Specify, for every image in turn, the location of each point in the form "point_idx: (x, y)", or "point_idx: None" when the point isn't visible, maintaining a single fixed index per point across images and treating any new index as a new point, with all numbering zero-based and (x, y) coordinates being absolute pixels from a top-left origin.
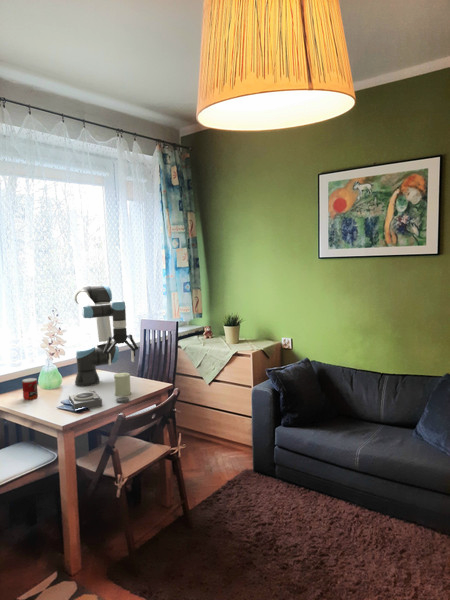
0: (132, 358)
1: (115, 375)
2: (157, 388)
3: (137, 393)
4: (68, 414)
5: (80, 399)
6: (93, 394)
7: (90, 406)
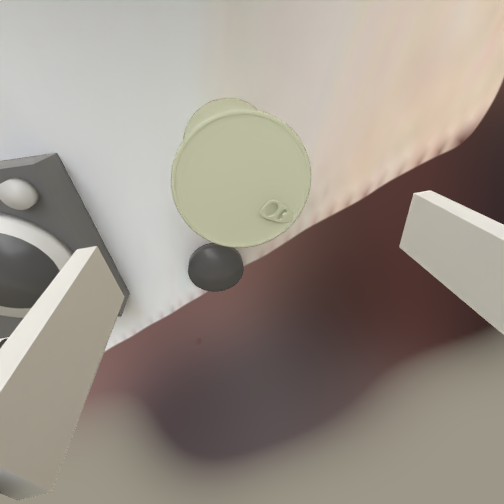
0: (435, 267)
1: (184, 185)
2: (417, 138)
3: None
4: None
5: (6, 312)
6: None
7: None
